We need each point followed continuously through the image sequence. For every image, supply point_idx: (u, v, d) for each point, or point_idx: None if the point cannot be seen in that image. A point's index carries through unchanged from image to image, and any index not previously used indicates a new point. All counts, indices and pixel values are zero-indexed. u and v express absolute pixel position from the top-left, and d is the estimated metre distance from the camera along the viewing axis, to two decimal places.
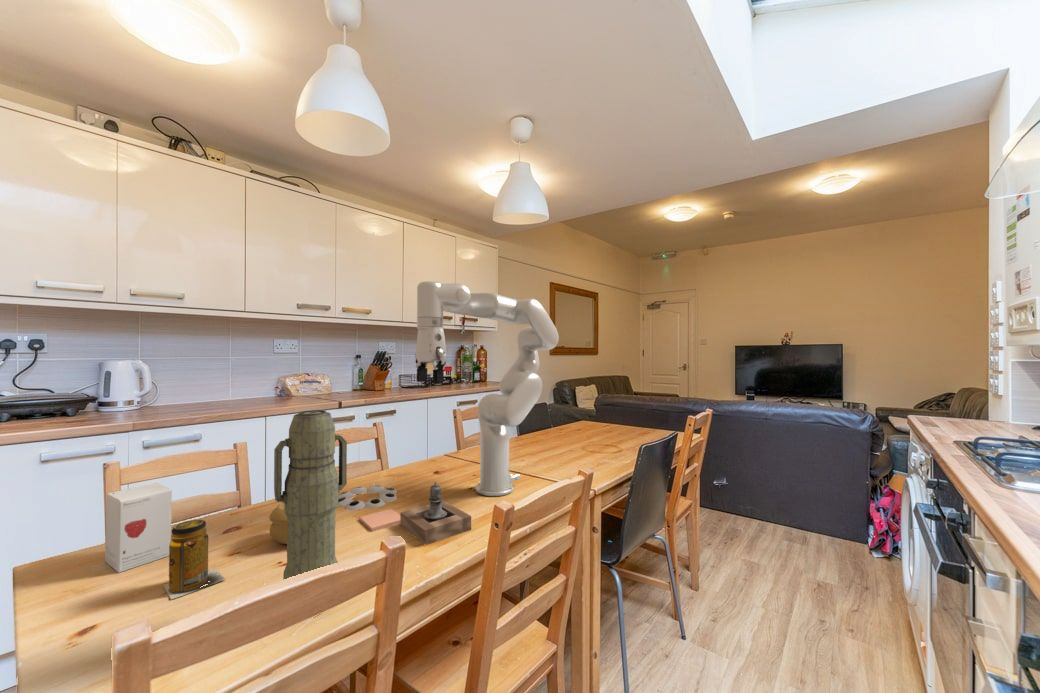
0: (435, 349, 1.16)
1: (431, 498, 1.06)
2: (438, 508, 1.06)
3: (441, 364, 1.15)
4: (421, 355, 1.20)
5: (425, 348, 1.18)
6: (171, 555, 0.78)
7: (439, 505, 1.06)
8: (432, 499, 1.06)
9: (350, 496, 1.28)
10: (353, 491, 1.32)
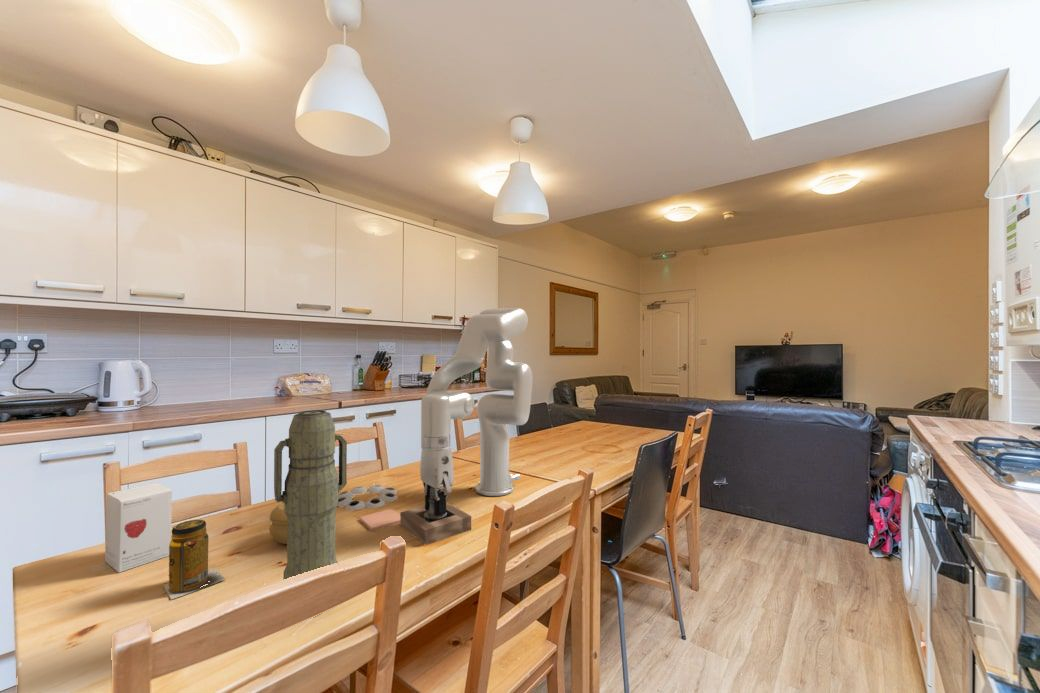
0: (442, 475, 1.03)
1: (431, 498, 1.06)
2: None
3: (443, 495, 1.03)
4: (426, 477, 1.06)
5: (430, 471, 1.04)
6: (171, 555, 0.78)
7: None
8: (432, 499, 1.06)
9: (350, 496, 1.28)
10: (353, 491, 1.32)
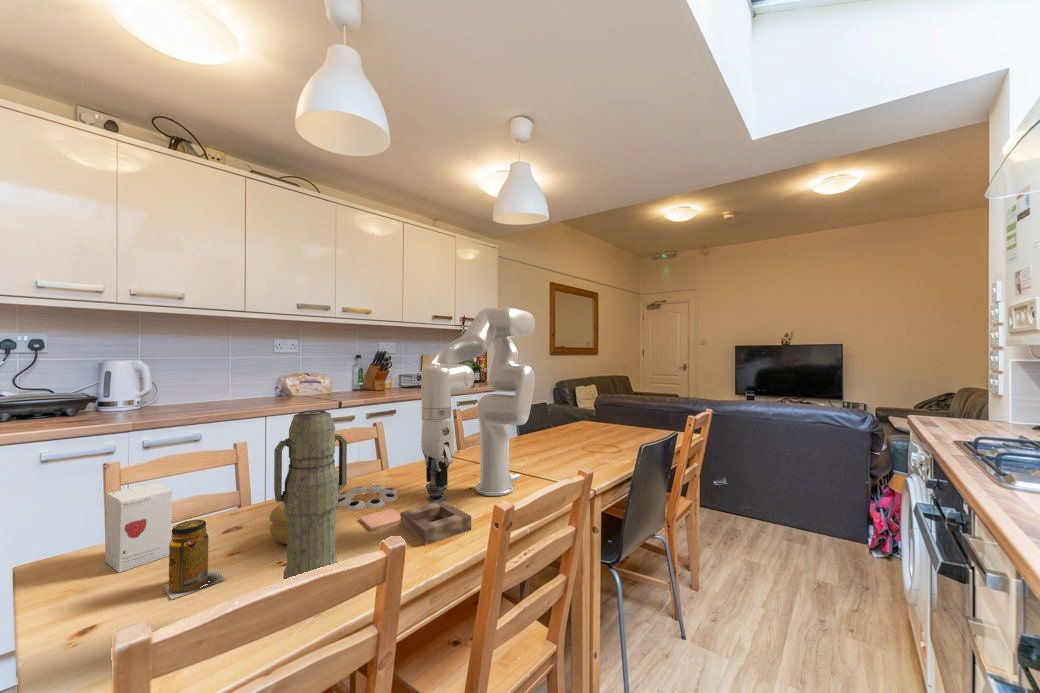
0: (442, 445, 1.03)
1: (432, 469, 1.07)
2: None
3: (445, 466, 1.04)
4: (427, 449, 1.07)
5: (431, 442, 1.05)
6: (171, 555, 0.78)
7: None
8: (433, 470, 1.06)
9: (350, 496, 1.28)
10: (353, 491, 1.32)
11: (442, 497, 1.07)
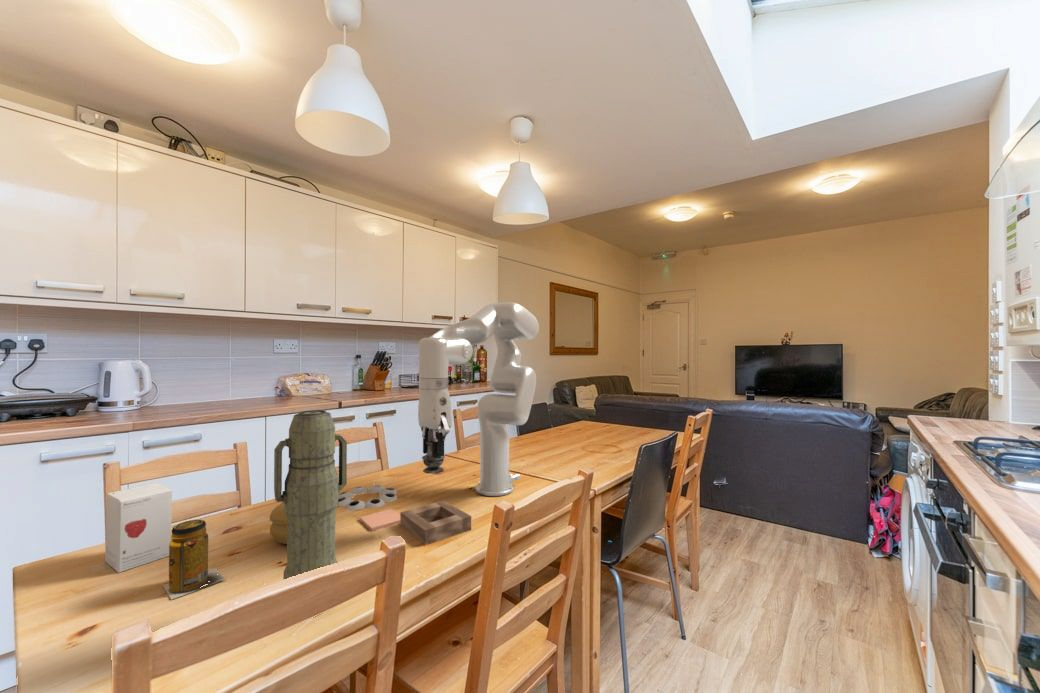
0: (440, 415, 1.03)
1: (429, 440, 1.06)
2: None
3: (442, 436, 1.04)
4: (424, 420, 1.07)
5: (428, 413, 1.05)
6: (171, 555, 0.78)
7: None
8: (430, 441, 1.06)
9: (350, 496, 1.28)
10: (353, 491, 1.32)
11: (439, 468, 1.07)
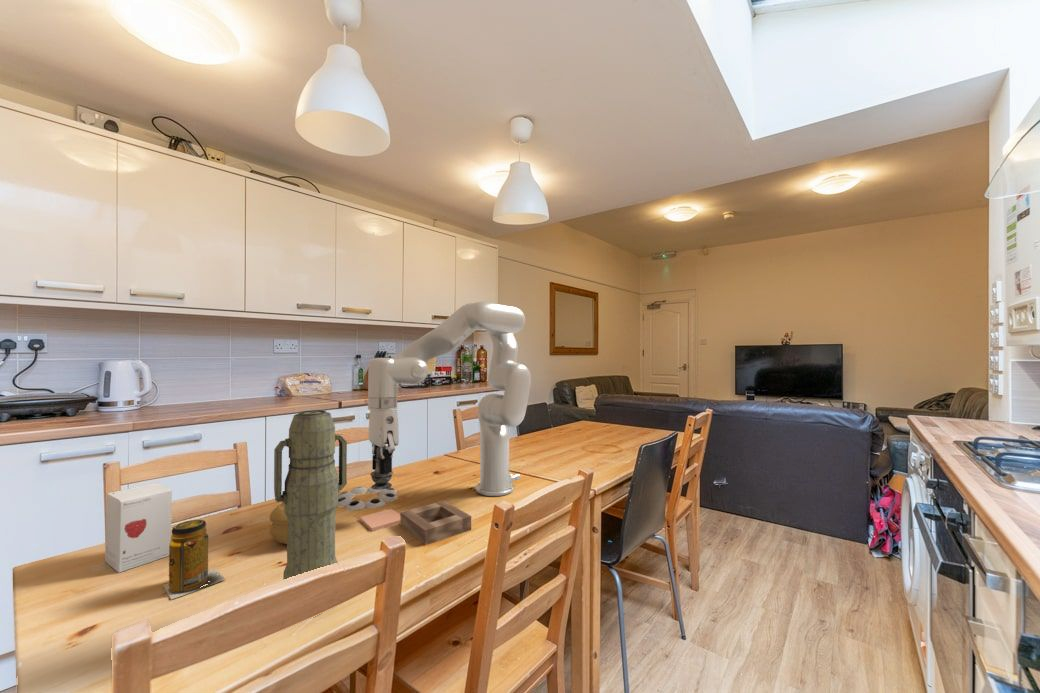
0: (386, 433, 1.07)
1: (377, 457, 1.10)
2: None
3: (388, 454, 1.07)
4: (372, 437, 1.11)
5: (376, 431, 1.08)
6: (171, 555, 0.78)
7: None
8: (378, 458, 1.10)
9: (350, 496, 1.28)
10: (353, 491, 1.32)
11: (386, 484, 1.11)
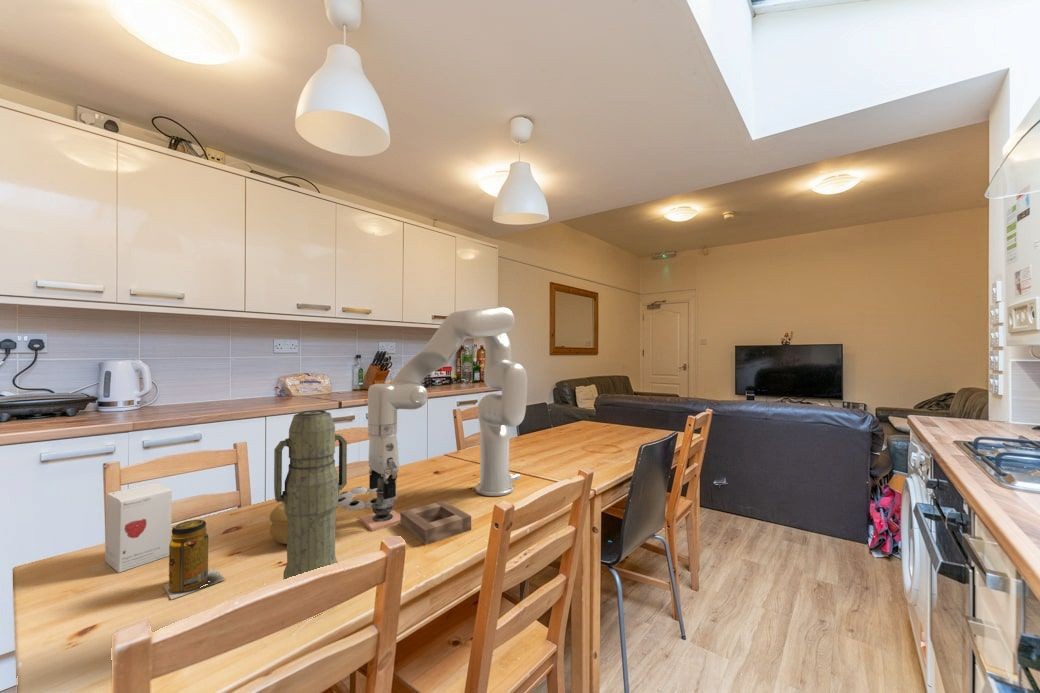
0: (386, 461, 1.07)
1: (378, 489, 1.10)
2: (385, 499, 1.10)
3: (392, 479, 1.06)
4: (372, 464, 1.11)
5: (376, 458, 1.08)
6: (171, 555, 0.78)
7: None
8: (379, 490, 1.10)
9: (350, 496, 1.28)
10: (353, 491, 1.32)
11: (387, 516, 1.11)
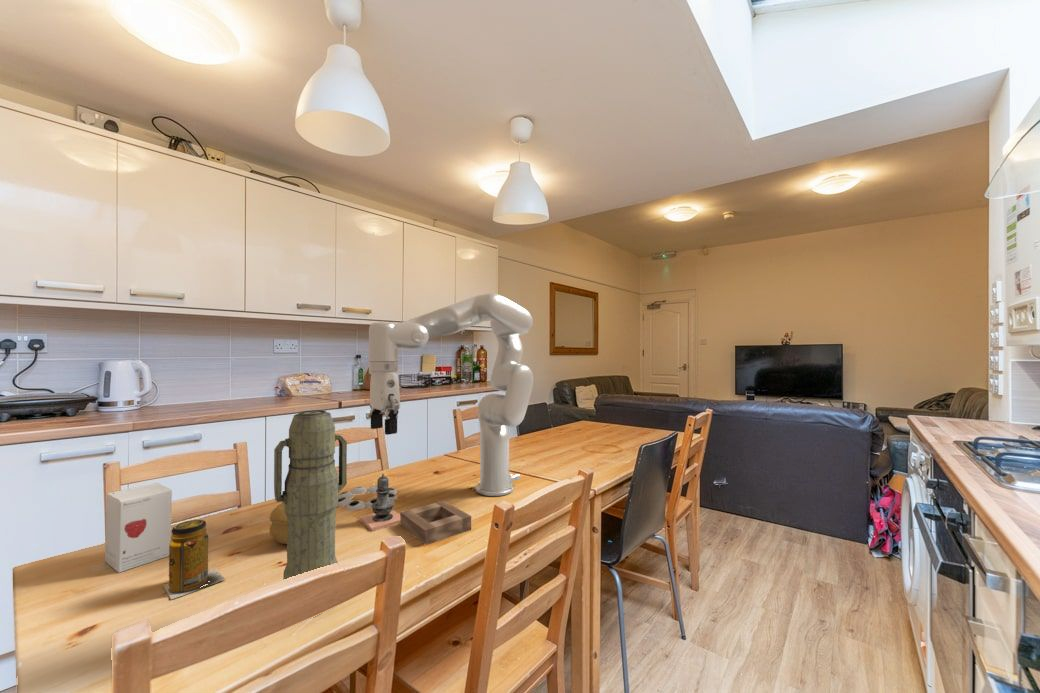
0: (387, 397, 1.07)
1: (378, 489, 1.10)
2: (385, 499, 1.10)
3: (393, 414, 1.06)
4: (374, 402, 1.11)
5: (377, 394, 1.09)
6: (171, 555, 0.78)
7: (386, 496, 1.11)
8: (379, 490, 1.10)
9: (350, 496, 1.28)
10: (353, 491, 1.32)
11: (387, 516, 1.11)
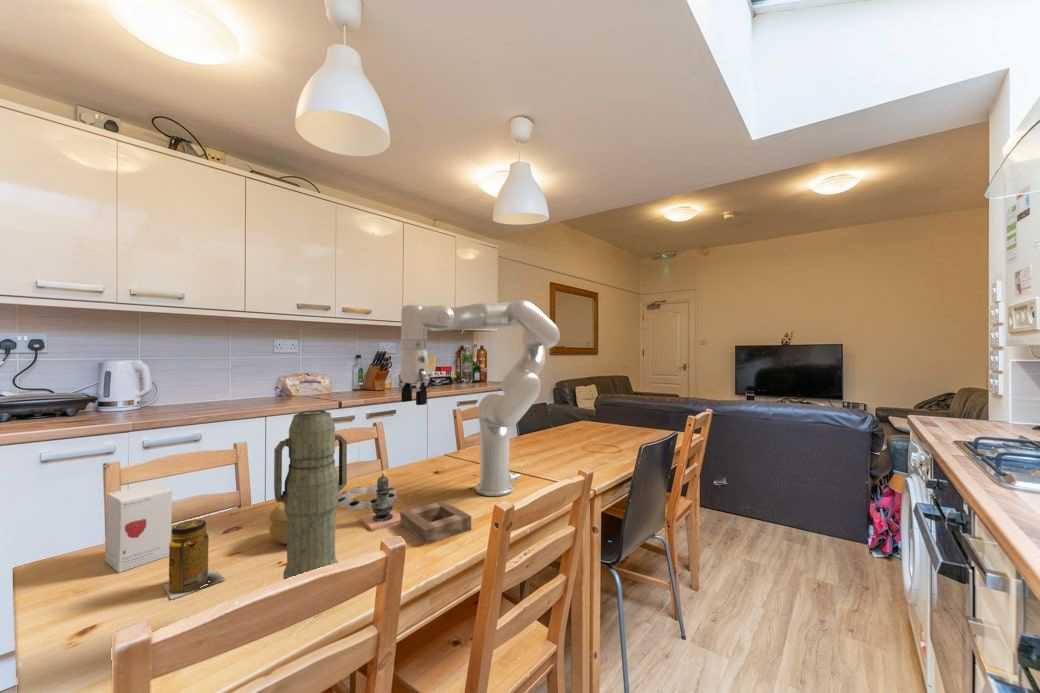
0: (418, 371, 1.19)
1: (378, 489, 1.10)
2: (385, 499, 1.10)
3: (424, 386, 1.18)
4: (405, 376, 1.23)
5: (409, 369, 1.21)
6: (171, 555, 0.78)
7: (386, 496, 1.11)
8: (379, 490, 1.10)
9: (350, 496, 1.28)
10: (353, 491, 1.32)
11: (387, 516, 1.11)
